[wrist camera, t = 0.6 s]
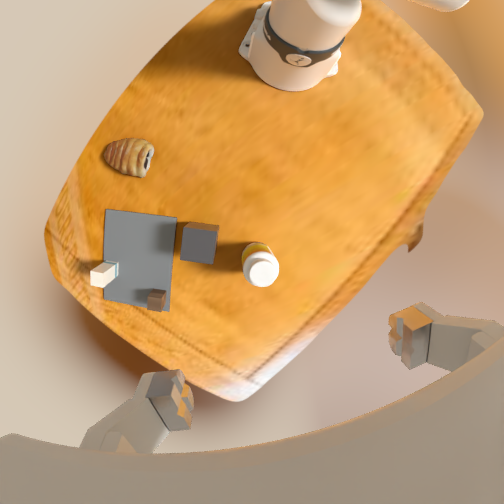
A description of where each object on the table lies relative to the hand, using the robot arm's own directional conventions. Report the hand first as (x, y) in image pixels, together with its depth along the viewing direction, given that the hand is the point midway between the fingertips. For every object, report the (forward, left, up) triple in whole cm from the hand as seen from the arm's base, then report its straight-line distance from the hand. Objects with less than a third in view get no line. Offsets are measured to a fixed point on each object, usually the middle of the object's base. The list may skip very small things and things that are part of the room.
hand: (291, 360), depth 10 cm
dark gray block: (+4, -7, -40) cm, 41 cm away
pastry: (-9, -22, -41) cm, 47 cm away
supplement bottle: (+6, +3, -40) cm, 41 cm away
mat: (+10, -19, -40) cm, 45 cm away
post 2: (+16, -14, -40) cm, 45 cm away
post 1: (+12, -24, -40) cm, 48 cm away
